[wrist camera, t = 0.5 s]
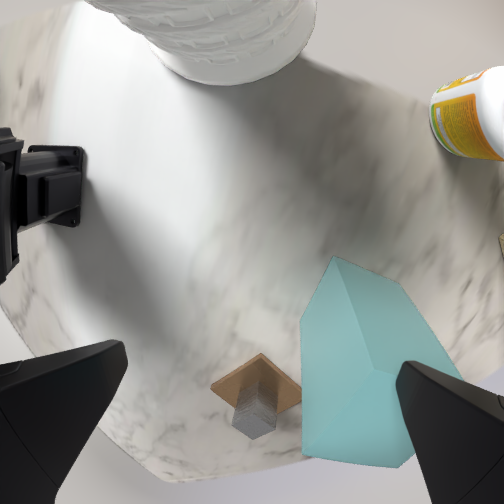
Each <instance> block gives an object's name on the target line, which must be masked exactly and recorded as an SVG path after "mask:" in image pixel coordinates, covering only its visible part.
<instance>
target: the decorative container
mask: <svg viewBox="0 0 504 504" xmlns="http://www.w3.org/2000/svg"><path fill="white" fill-rule="evenodd" d="M85 1H86V2H87V3H89V4H91V5H92V6H94V7H95V8H97V9H100V10H103V11H106V12H109V13H113V14H114V15H115V16H116V17H117V19H118V20H119V21H120V22H121V23H122V24H124V25H125V26H127V27H128V28H130V29H131V30H132V31H135V32H137V33H139V34H142V35H144V36H145V37H146V39H147V41H148V43H149V45H150V48H151V50H152V52H153V53H154V54H155V56H156V57H157V58H158V59H159V60H160V61H161V62H162V63H163V64H164V65H165V66H166V67H168V68H169V69H171V70H173V71H174V72H176V73H178V74H180V75H181V76H183V77H185V78H186V79H188V80H192V81H196V82H199V83H203V84H206V85H222V86H232V85H238V84H243V83H249V82H254V81H256V80H259V79H261V78H264V77H266V76H269V75H271V74H274V73H276V72H277V71H279V70H280V69H281V68H283V67H284V66H286V65H287V64H289V63H290V62H292V61H293V60H294V59H295V58H296V56H297V55H298V54H299V53H300V52H301V51H302V49H303V48H304V47H305V46H306V45H307V42H308V40H309V38H310V36H311V33H312V31H313V29H314V25H315V17H316V5H317V3H316V0H85Z"/></svg>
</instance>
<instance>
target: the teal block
mask: <svg viewBox="0 0 504 504" xmlns="http://www.w3.org/2000/svg"><path fill="white" fill-rule="evenodd" d="M300 337H301V377H302V455H307V456H311V457H316V458H322V459H327V460H333V461H340V462H346V463H353V464H360V465H368V466H378V467H390V468H399V467H400V466H401V465H402V464H403V463H404V462H405V461H407V460H408V459H409V458H410V457H411V456H413V455H414V454H415V450H414V447H413V444H412V442H411V439H410V436H409V433H408V431H407V428H406V425H405V422H404V419H403V416H402V412H401V407H400V403H399V399H398V395H397V391H396V386H395V384H396V379H397V376H398V374H399V371H400V368H401V366H402V363H403V362H404V361H409V360H415V361H418V362H420V363H422V364H425V365H427V366H429V367H432V368H434V369H436V370H439V371H441V372H444V373H446V374H448V375H451V376H453V377H455V378H458V379H460V380H463V378H462V377H461V375H460V373H459V372H458V370H457V368H456V367H455V365H454V364H453V362H452V360H451V359H450V357H449V356H448V354H447V352H446V351H445V349H444V348H443V346H442V345H441V343H440V342H439V340H438V339H437V337H436V336H435V334H434V333H433V331H432V330H431V328H430V327H429V325H428V324H427V322H426V321H425V319H424V318H423V316H422V315H421V314H420V312H419V311H418V309H417V308H416V306H415V305H414V304H413V302H412V301H411V299H410V298H409V297H408V295H407V294H406V293H405V291H404V290H403V288H402V287H401V286H400V284H399V283H396V282H394V281H392V280H389V279H387V278H385V277H383V276H380V275H378V274H376V273H373V272H371V271H369V270H366V269H364V268H362V267H359V266H357V265H355V264H352V263H350V262H347V261H345V260H343V259H340V258H338V257H336V256H333V257H332V259H331V261H330V263H329V265H328V267H327V269H326V271H325V273H324V275H323V277H322V279H321V281H320V283H319V285H318V287H317V289H316V291H315V293H314V295H313V297H312V299H311V301H310V303H309V305H308V307H307V309H306V311H305V312H304V314H303V316H302V318H301V320H300ZM463 381H464V380H463Z"/></svg>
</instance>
